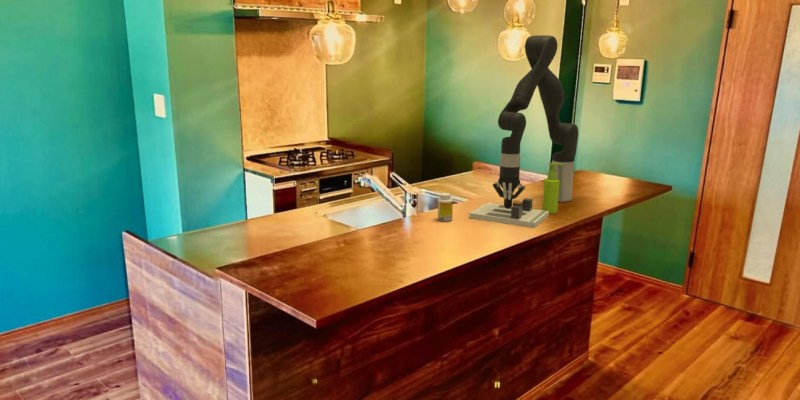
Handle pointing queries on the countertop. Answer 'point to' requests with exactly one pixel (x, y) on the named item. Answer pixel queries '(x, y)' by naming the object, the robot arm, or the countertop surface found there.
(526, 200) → the breaker
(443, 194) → the supplement bottle
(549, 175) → the soap dispenser
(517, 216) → the block
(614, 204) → the countertop surface
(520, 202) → the breaker mid
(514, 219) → the breaker panel
